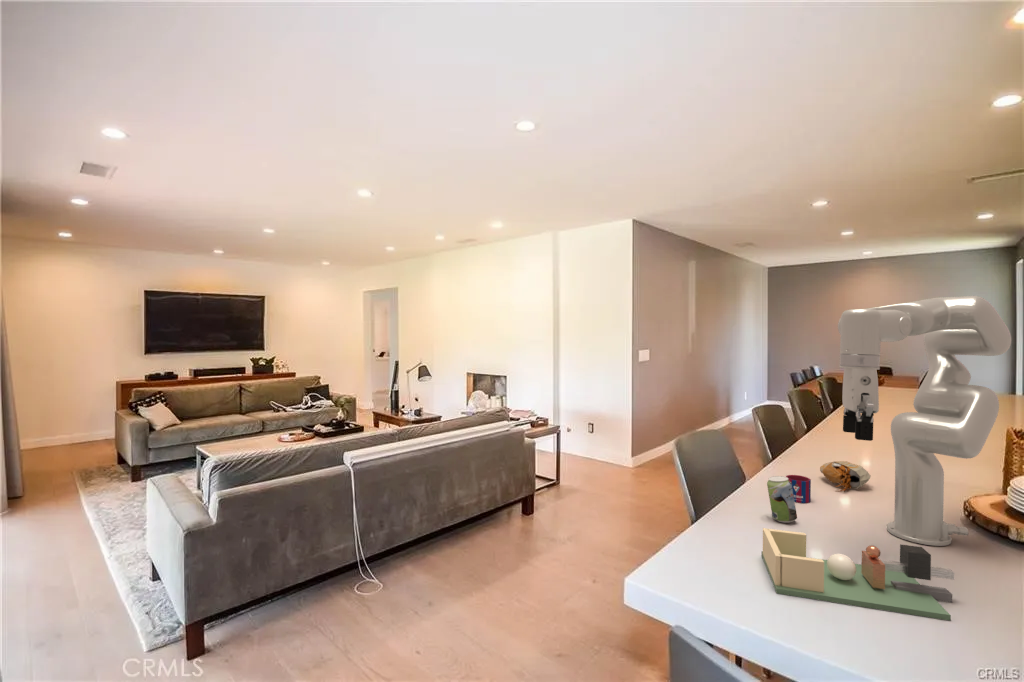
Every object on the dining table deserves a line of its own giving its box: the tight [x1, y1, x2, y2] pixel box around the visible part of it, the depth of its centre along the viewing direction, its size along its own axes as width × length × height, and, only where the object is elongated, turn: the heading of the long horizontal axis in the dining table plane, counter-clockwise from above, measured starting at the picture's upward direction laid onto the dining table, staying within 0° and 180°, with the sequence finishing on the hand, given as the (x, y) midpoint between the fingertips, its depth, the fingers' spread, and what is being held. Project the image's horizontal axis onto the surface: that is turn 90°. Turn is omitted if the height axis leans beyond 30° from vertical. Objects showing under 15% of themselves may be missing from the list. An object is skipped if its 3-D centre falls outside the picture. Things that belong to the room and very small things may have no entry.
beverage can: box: [766, 475, 798, 524], centre depth 131 cm, size 6×7×12 cm
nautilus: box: [819, 460, 872, 493], centre depth 161 cm, size 8×22×15 cm
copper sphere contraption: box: [861, 544, 955, 589], centre depth 95 cm, size 14×6×8 cm, turn 71°
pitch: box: [761, 527, 953, 621], centre depth 98 cm, size 32×17×7 cm, turn 71°
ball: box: [827, 553, 856, 580], centre depth 98 cm, size 5×5×5 cm
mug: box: [785, 474, 812, 504], centre depth 149 cm, size 7×10×7 cm
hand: (857, 435), depth 110 cm, fingers open, 9 cm apart
